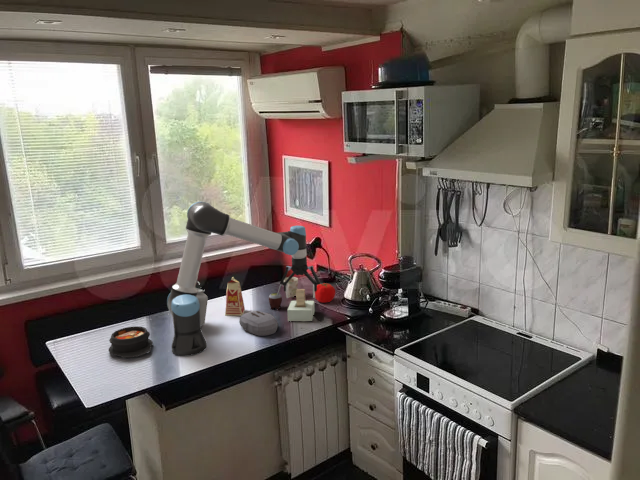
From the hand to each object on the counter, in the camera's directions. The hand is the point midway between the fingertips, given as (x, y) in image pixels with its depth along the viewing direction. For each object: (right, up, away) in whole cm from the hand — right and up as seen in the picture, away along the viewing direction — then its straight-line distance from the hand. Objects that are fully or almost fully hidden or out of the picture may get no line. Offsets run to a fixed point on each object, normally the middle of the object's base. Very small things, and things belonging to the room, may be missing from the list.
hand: (300, 297), depth 261 cm
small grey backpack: (-19, -14, -13) cm, 27 cm away
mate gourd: (-14, -8, +15) cm, 22 cm away
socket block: (0, -10, +2) cm, 10 cm away
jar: (-57, -13, -10) cm, 59 cm away
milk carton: (-35, -9, +11) cm, 38 cm away
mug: (-7, -4, +32) cm, 33 cm away
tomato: (+12, -5, +24) cm, 27 cm away
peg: (0, -10, +2) cm, 10 cm away
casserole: (-74, -20, -31) cm, 83 cm away
